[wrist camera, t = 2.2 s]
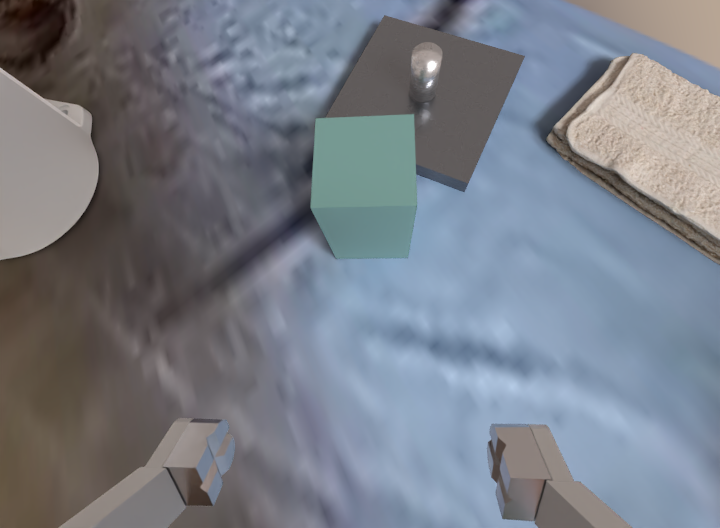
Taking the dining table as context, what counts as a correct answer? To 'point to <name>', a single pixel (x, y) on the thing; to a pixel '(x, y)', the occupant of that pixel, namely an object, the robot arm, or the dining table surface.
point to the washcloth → (650, 147)
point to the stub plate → (452, 105)
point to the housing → (365, 184)
